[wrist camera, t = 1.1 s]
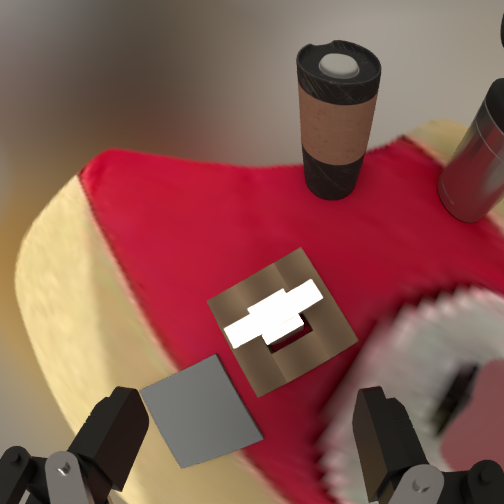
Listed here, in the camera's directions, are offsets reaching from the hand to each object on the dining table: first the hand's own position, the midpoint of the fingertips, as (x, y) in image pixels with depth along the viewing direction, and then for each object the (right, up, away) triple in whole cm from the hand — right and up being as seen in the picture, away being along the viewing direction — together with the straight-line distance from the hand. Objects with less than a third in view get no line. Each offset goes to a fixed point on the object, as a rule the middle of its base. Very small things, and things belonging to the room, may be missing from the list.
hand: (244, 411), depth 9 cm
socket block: (+4, -3, +25) cm, 25 cm away
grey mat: (-6, -15, +23) cm, 28 cm away
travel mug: (+11, +16, +30) cm, 35 cm away
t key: (+4, -3, +25) cm, 25 cm away
